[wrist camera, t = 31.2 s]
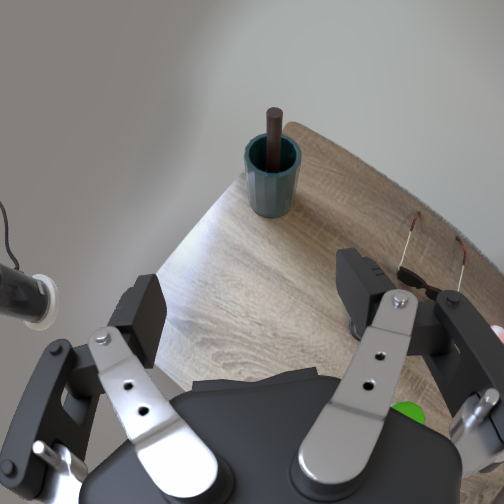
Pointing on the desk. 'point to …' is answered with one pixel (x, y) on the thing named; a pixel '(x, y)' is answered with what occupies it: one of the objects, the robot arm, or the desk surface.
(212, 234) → the desk surface
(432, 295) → the sunglasses
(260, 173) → the pencil holder
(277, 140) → the brush
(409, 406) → the cup
